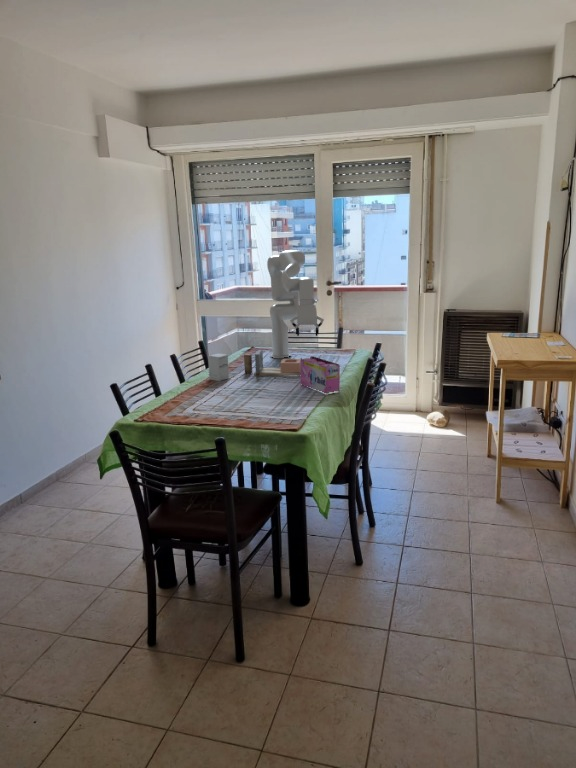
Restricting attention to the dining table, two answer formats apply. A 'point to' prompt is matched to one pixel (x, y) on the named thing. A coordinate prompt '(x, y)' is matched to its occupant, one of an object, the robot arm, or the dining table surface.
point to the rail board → (275, 372)
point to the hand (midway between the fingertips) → (307, 335)
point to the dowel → (248, 363)
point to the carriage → (290, 365)
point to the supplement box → (218, 367)
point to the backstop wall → (259, 361)
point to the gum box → (320, 374)
